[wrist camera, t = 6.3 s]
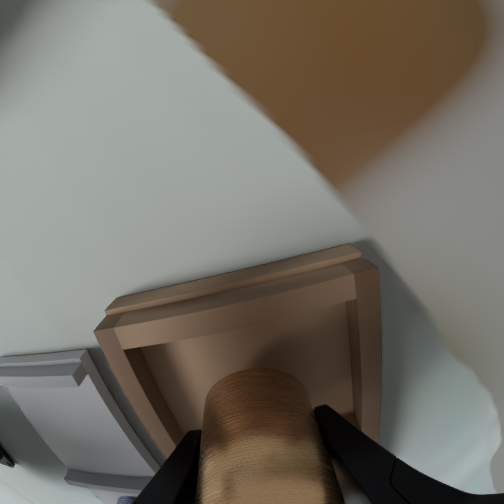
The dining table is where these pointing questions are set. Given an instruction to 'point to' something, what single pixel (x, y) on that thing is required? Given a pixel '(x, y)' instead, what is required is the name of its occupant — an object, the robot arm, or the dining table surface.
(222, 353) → the tray
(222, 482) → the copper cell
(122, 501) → the cylinder
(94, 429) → the cradle
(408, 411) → the dining table surface
